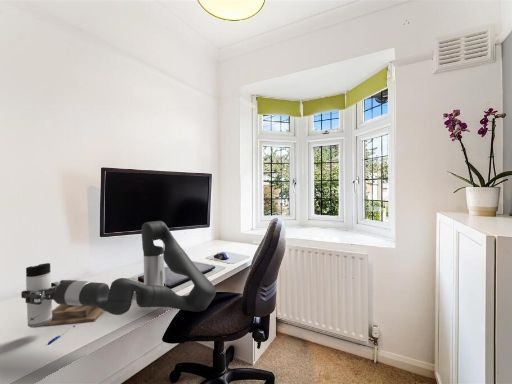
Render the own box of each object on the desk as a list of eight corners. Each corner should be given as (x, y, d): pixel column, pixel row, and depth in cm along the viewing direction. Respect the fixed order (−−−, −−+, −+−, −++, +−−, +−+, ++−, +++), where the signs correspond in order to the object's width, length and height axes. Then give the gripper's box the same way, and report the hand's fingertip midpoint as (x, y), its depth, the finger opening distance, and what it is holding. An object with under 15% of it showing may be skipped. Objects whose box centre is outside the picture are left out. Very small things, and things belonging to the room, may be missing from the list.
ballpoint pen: (49, 345, 78) (49, 342, 78) (47, 345, 78) (47, 342, 78) (75, 326, 89) (75, 324, 89) (73, 326, 89) (73, 324, 89)
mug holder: (112, 301, 108) (112, 293, 108) (95, 321, 92) (94, 311, 92) (61, 305, 105) (61, 297, 105) (34, 326, 89) (34, 317, 89)
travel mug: (32, 330, 79) (30, 268, 78) (24, 324, 82) (22, 265, 82) (55, 320, 84) (54, 262, 84) (48, 315, 88) (46, 260, 87)
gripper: (55, 315, 74) (9, 311, 76) (94, 294, 88) (54, 291, 91) (54, 290, 73) (8, 287, 76) (93, 273, 88) (54, 271, 91)
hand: (34, 289), depth 83 cm, fingers closed on travel mug, 6 cm apart
